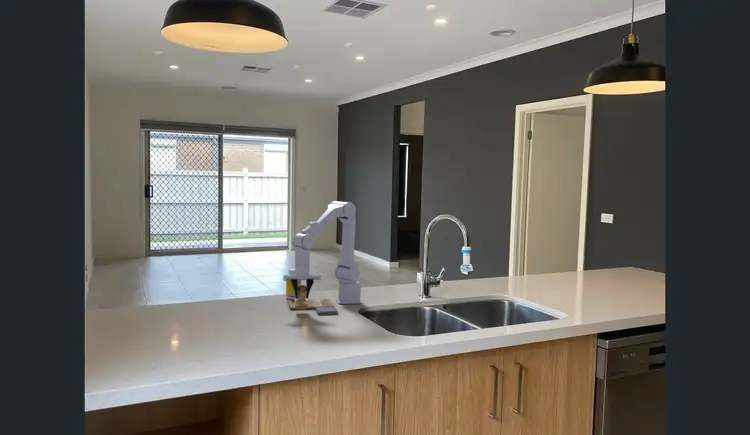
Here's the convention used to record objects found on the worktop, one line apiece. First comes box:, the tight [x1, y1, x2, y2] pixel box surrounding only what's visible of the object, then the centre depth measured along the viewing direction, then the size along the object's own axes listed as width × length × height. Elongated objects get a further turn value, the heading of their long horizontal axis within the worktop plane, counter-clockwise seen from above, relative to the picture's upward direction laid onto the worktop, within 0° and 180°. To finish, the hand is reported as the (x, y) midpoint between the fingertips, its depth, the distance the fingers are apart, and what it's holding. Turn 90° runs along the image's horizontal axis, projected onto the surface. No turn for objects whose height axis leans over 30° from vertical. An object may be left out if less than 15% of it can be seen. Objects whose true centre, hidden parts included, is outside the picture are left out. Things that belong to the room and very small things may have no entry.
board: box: [287, 298, 336, 311], centre depth 224 cm, size 18×13×1 cm
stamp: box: [294, 284, 309, 307], centre depth 211 cm, size 5×5×8 cm
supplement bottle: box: [285, 268, 302, 300], centre depth 236 cm, size 7×7×13 cm
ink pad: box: [314, 306, 339, 316], centre depth 214 cm, size 8×8×1 cm
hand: (301, 298), depth 211 cm, fingers closed on stamp, 3 cm apart
